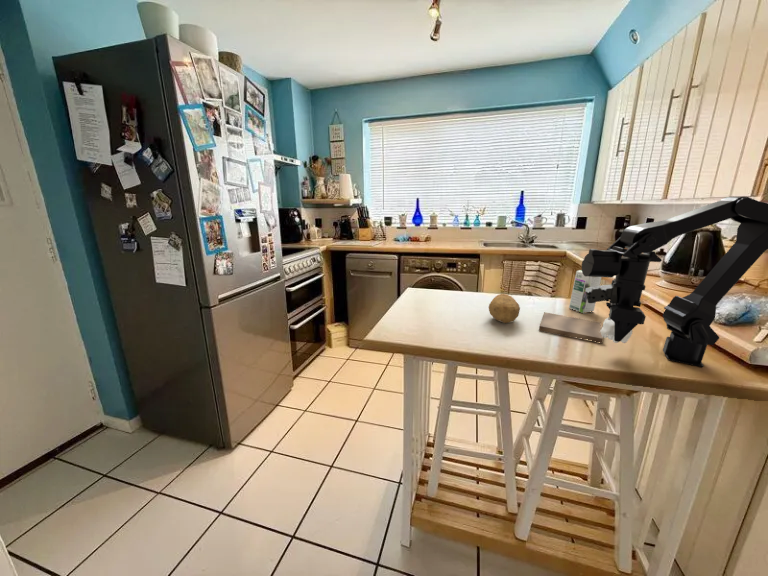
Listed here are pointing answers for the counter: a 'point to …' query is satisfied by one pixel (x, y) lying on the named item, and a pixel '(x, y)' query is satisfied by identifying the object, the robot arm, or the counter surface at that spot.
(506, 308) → the potato
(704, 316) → the robot arm
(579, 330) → the walnut board
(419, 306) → the counter surface
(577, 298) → the syrup box
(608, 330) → the elephant figurine
